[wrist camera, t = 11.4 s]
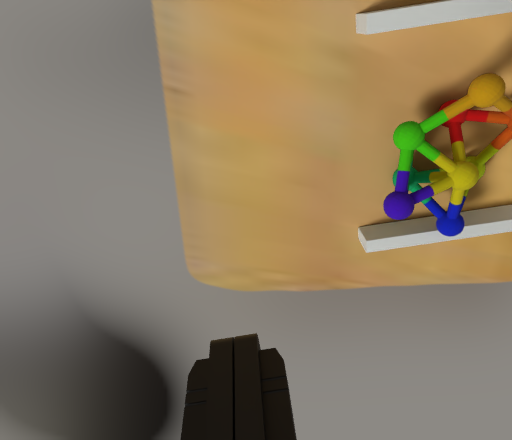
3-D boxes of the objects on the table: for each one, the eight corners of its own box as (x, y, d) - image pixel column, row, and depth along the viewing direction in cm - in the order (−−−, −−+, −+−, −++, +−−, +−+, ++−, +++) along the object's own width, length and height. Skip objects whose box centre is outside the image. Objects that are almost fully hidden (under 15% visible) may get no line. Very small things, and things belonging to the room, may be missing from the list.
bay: (355, 14, 33) (366, 13, 30) (593, -24, 33) (624, -27, 30) (358, 238, 44) (366, 252, 41) (536, 212, 44) (555, 224, 41)
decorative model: (565, 133, 35) (468, 268, 37) (479, 118, 42) (402, 231, 44) (510, 43, 28) (395, 215, 30) (419, 44, 35) (330, 182, 37)
